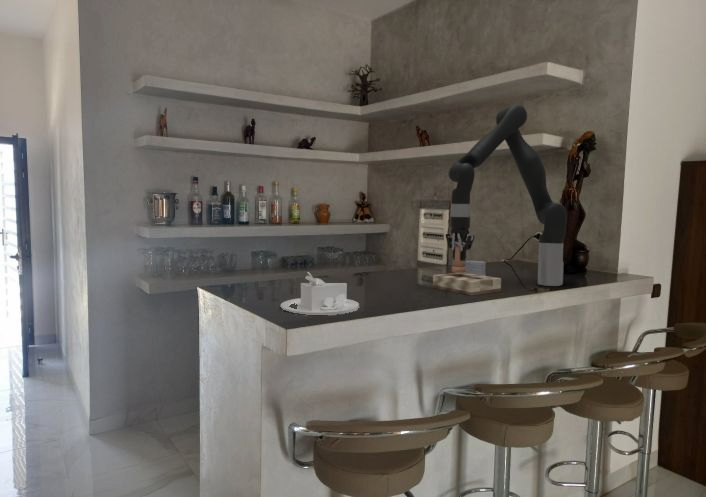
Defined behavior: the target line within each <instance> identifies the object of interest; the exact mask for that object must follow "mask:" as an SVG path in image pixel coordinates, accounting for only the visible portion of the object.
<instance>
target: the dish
mask: <svg viewBox="0 0 706 497" xmlns="http://www.w3.org/2000/svg"><path fill="white" fill-rule="evenodd" d="M304 279H305V280H306V281H309V282H300V298H299V297H298V298H292V299H288V300H286V301H283V302H281V304H280V307H281V308H282V309H283V310H286V311H289V312H293V313H299V314H306V315H305V316H307V315H328V316H338V315H337V314H339V315H346V314H345V313H347V314H350V313H353V311H354V312H356V311H358V310H359V309H360V303H359V302H358V301H355V300H353V299H348V298H347V297H348V294H347V293H348V292H347V290H348V288H347V286H348V284H347V283H348V282H347V283H346V282H335V283H334V282H329V283H328V282H325V281H324V280H322V279H321V278H318V277H317V278H315V277H313V275H312V274H311V273H310V272H309V271H307V275H306V276H305V278H304ZM294 303H295V305H296V304H297V305H298V306H297V309H294V308H291V307H289V306H290V305H291V304H294ZM358 308H359V309H358ZM283 310H282V311H283ZM349 312H350V313H349Z"/></svg>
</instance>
